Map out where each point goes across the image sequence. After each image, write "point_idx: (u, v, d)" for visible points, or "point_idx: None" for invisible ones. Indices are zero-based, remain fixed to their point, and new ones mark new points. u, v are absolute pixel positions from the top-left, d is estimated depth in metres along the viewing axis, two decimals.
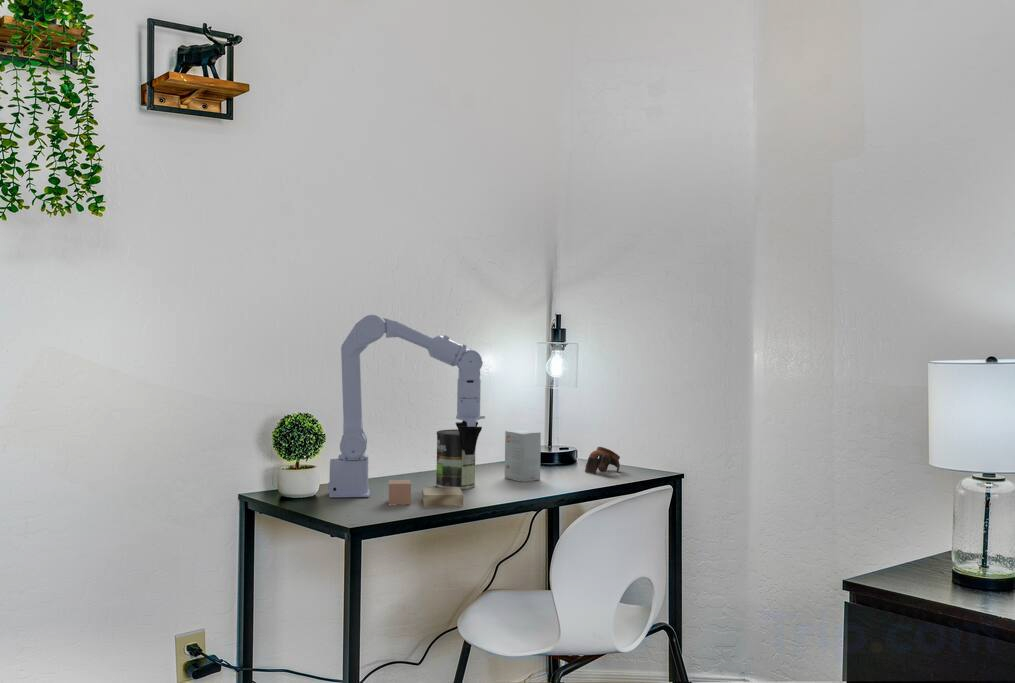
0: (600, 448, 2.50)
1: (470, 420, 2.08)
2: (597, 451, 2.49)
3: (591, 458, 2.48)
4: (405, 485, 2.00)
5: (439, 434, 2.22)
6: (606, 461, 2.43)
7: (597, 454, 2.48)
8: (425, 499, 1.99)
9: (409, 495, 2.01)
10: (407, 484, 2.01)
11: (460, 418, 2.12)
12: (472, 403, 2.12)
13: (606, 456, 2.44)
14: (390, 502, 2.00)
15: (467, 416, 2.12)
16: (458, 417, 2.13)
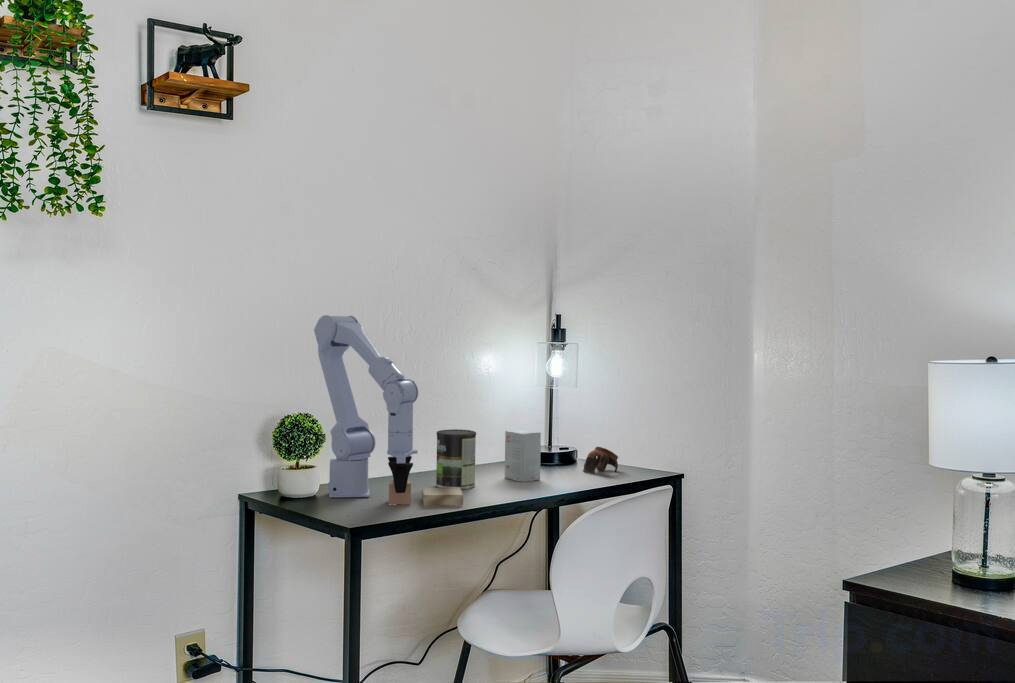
0: (598, 448, 2.50)
1: (399, 456, 1.95)
2: (595, 451, 2.49)
3: (589, 458, 2.49)
4: None
5: (439, 434, 2.22)
6: (604, 461, 2.44)
7: (595, 454, 2.48)
8: (425, 499, 1.99)
9: (409, 495, 2.01)
10: (407, 484, 2.01)
11: (390, 454, 2.00)
12: (403, 438, 2.00)
13: (604, 456, 2.44)
14: (390, 502, 2.00)
15: (398, 451, 2.00)
16: (388, 452, 2.01)
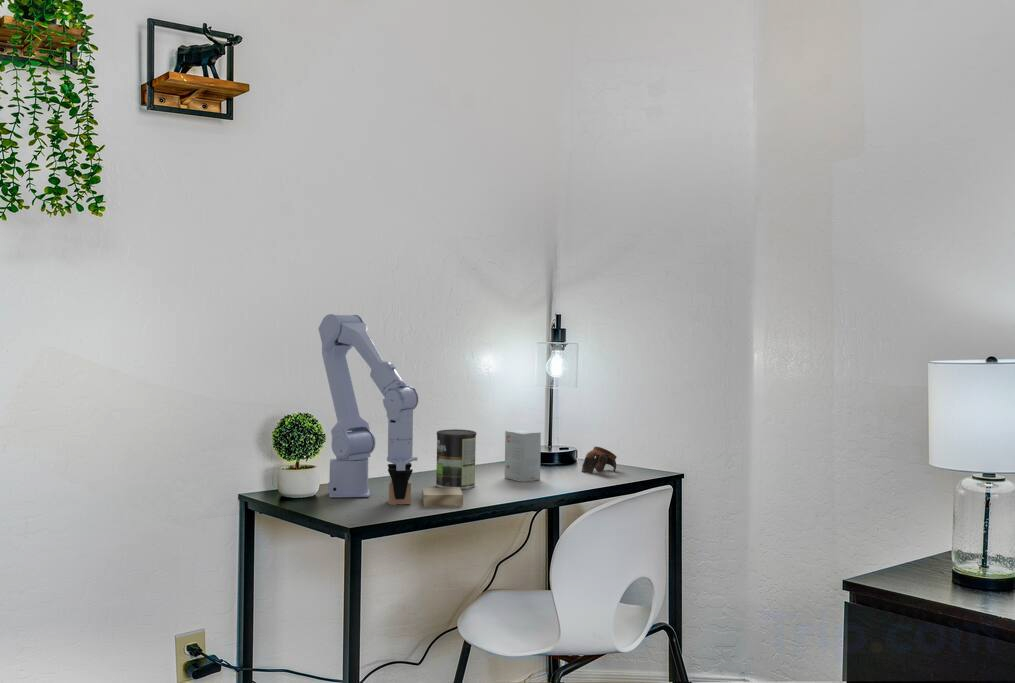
0: (597, 448, 2.50)
1: (399, 464, 1.95)
2: (594, 451, 2.49)
3: (588, 458, 2.49)
4: None
5: (439, 434, 2.22)
6: (603, 461, 2.44)
7: (594, 454, 2.48)
8: (425, 499, 1.99)
9: (409, 494, 2.01)
10: None
11: (390, 461, 2.00)
12: (403, 445, 2.00)
13: (603, 456, 2.44)
14: (390, 502, 2.00)
15: (398, 458, 2.00)
16: (388, 459, 2.01)
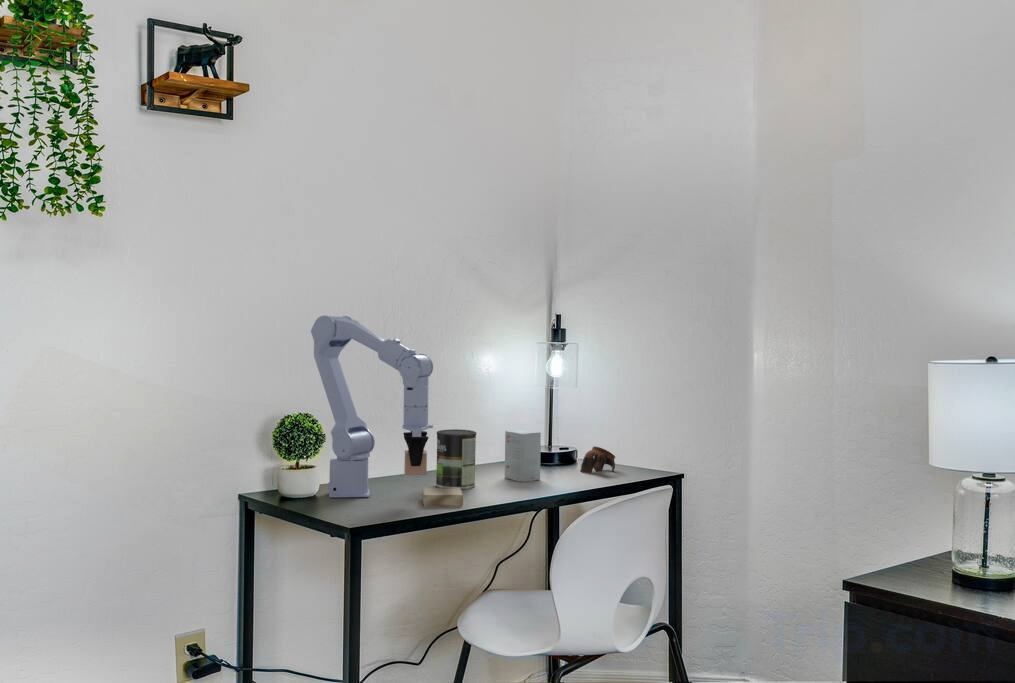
0: (595, 448, 2.50)
1: (415, 430, 1.96)
2: (592, 451, 2.49)
3: (587, 458, 2.49)
4: None
5: (439, 434, 2.22)
6: (602, 461, 2.44)
7: (593, 454, 2.48)
8: (425, 499, 1.99)
9: (425, 465, 2.01)
10: (423, 454, 2.01)
11: (406, 428, 2.00)
12: (419, 412, 2.00)
13: (602, 456, 2.44)
14: (406, 472, 2.00)
15: (413, 426, 2.00)
16: (404, 427, 2.01)
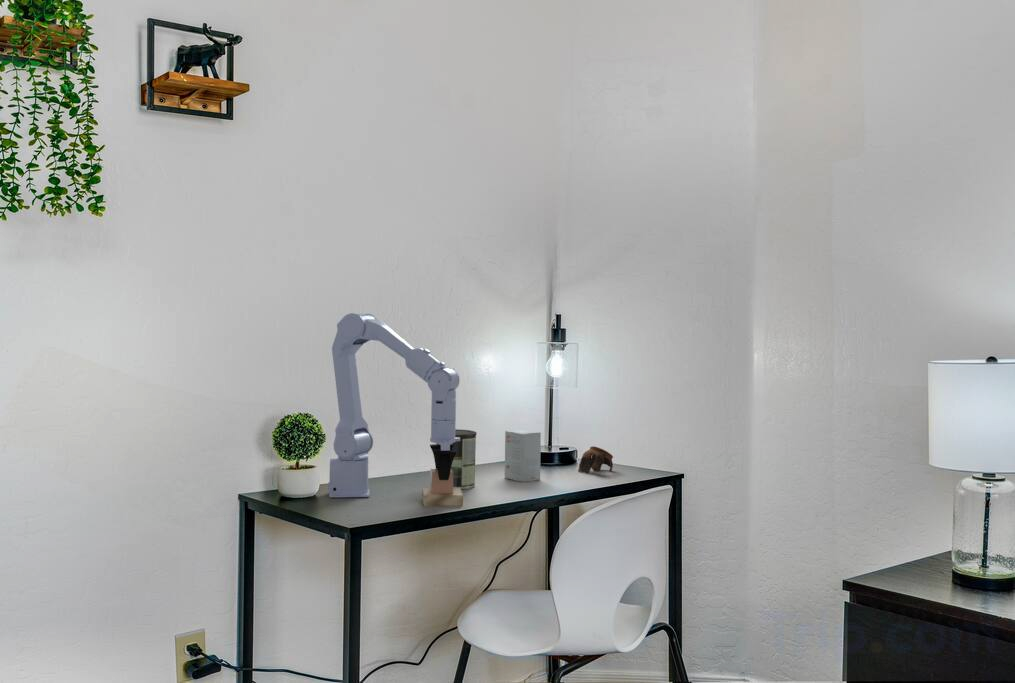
0: (593, 448, 2.50)
1: (444, 444, 1.97)
2: (590, 451, 2.50)
3: (584, 458, 2.49)
4: None
5: None
6: (600, 461, 2.44)
7: (591, 454, 2.48)
8: (425, 500, 1.99)
9: (451, 483, 2.02)
10: None
11: (434, 441, 2.01)
12: (446, 425, 2.01)
13: (600, 456, 2.44)
14: (433, 490, 2.01)
15: (441, 439, 2.01)
16: (432, 440, 2.02)
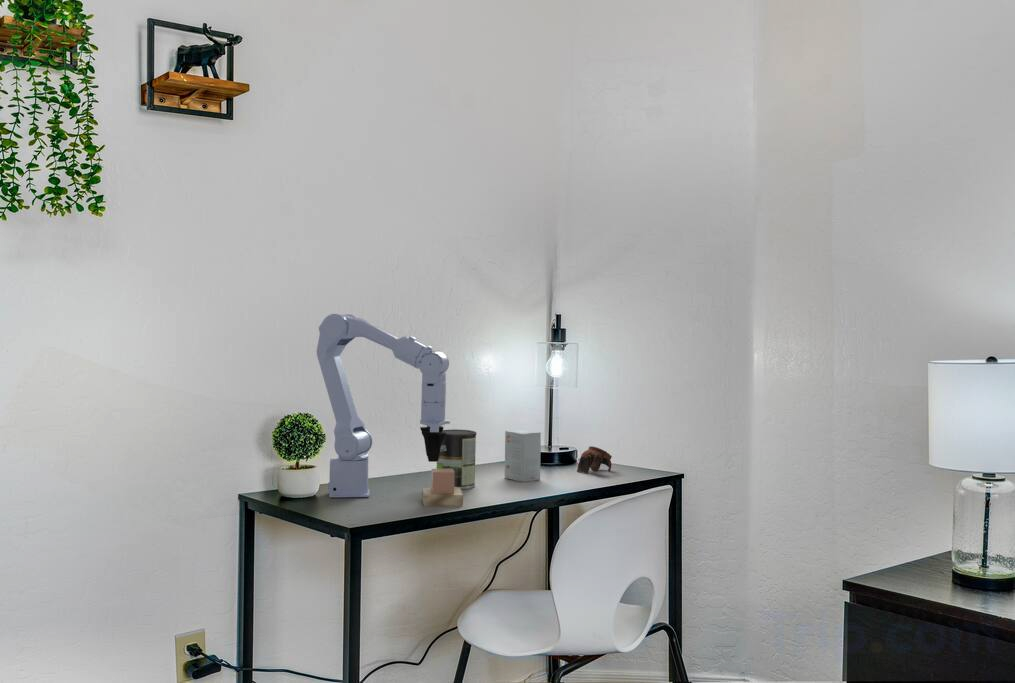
0: (592, 448, 2.50)
1: (433, 425, 1.99)
2: (589, 451, 2.50)
3: (583, 458, 2.49)
4: (449, 473, 2.02)
5: None
6: (598, 461, 2.44)
7: (589, 454, 2.48)
8: (425, 499, 1.99)
9: (453, 483, 2.02)
10: (451, 472, 2.02)
11: (423, 423, 2.04)
12: (436, 408, 2.04)
13: (598, 456, 2.45)
14: (434, 490, 2.01)
15: (431, 421, 2.04)
16: (422, 422, 2.05)
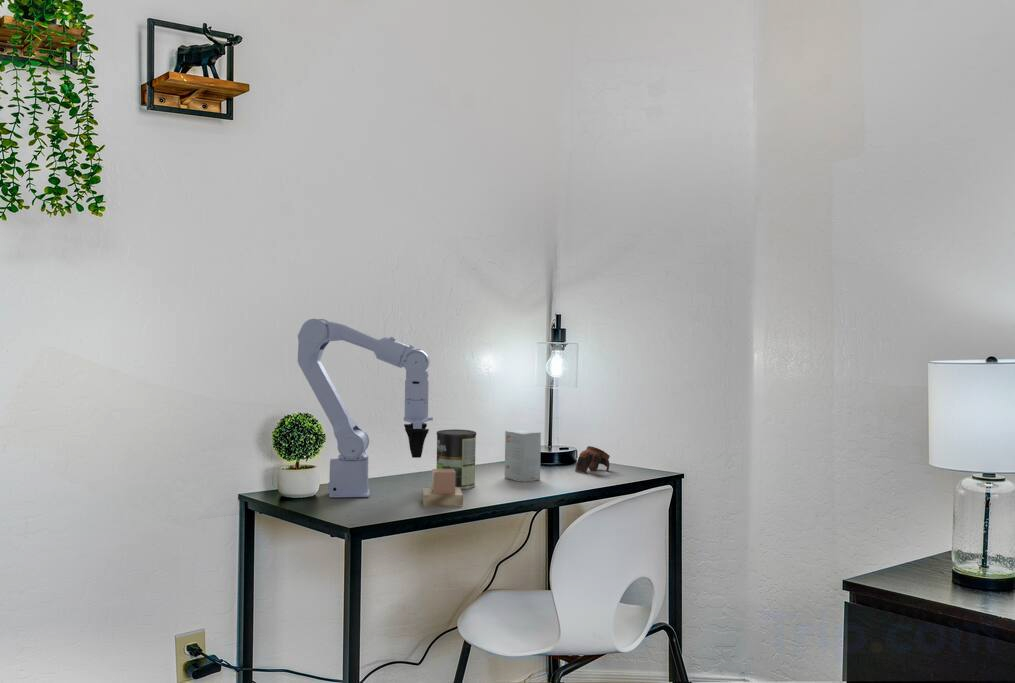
0: (590, 447, 2.50)
1: (416, 422, 2.04)
2: (587, 450, 2.50)
3: (581, 457, 2.49)
4: (450, 474, 2.02)
5: (439, 434, 2.22)
6: (597, 460, 2.44)
7: (587, 454, 2.48)
8: (425, 499, 1.99)
9: (454, 483, 2.02)
10: (452, 473, 2.02)
11: (407, 420, 2.08)
12: (419, 405, 2.08)
13: (597, 455, 2.45)
14: (435, 491, 2.01)
15: (414, 418, 2.08)
16: (405, 419, 2.09)
